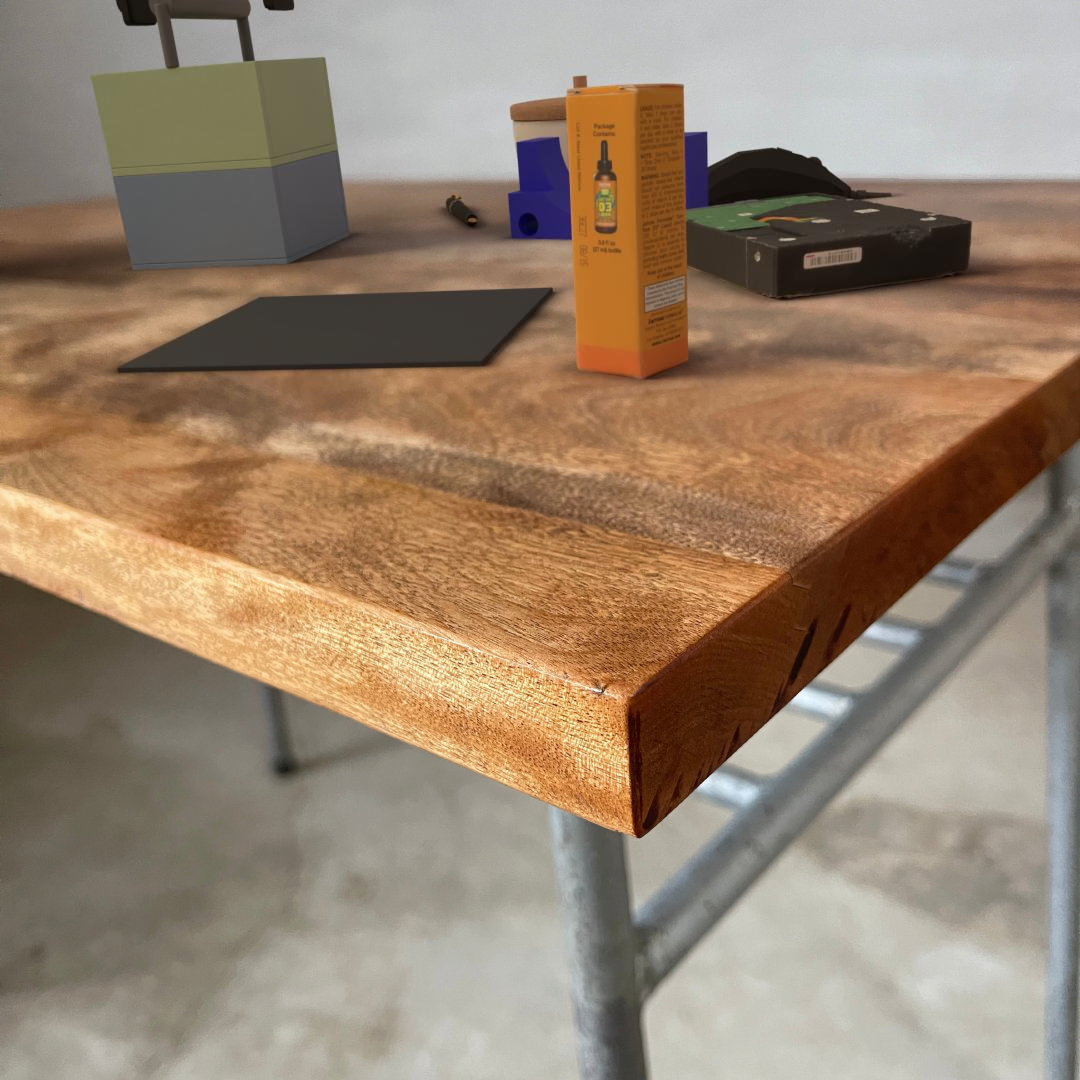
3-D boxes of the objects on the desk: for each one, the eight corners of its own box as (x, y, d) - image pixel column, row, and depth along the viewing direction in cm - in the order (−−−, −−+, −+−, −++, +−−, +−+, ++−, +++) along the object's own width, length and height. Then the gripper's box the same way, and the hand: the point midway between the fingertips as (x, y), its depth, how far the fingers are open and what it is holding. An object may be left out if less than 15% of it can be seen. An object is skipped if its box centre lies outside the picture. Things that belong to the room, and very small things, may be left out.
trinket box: (498, 219, 83) (486, 84, 80) (543, 199, 93) (535, 77, 89) (637, 215, 80) (631, 74, 76) (670, 194, 89) (666, 67, 85)
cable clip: (511, 240, 73) (503, 144, 71) (545, 229, 77) (539, 137, 74) (679, 243, 67) (677, 138, 65) (708, 231, 71) (707, 131, 69)
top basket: (110, 177, 71) (71, -4, 66) (196, 158, 81) (167, 1, 76) (271, 167, 68) (240, -21, 64) (339, 149, 78) (316, -14, 74)
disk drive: (973, 280, 53) (815, 237, 66) (979, 219, 51) (816, 187, 65) (775, 309, 50) (651, 258, 63) (776, 246, 49) (649, 207, 62)
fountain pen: (484, 231, 78) (482, 209, 78) (468, 233, 78) (466, 211, 78) (457, 208, 91) (455, 189, 91) (442, 210, 91) (440, 191, 91)
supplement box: (697, 362, 42) (692, 78, 38) (643, 384, 40) (631, 85, 36) (628, 352, 45) (616, 82, 41) (572, 373, 42) (554, 89, 38)
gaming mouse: (903, 204, 75) (906, 141, 74) (683, 220, 76) (681, 158, 74) (879, 193, 81) (882, 135, 79) (675, 208, 82) (673, 150, 80)
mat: (118, 376, 47) (116, 367, 47) (260, 304, 60) (259, 296, 59) (482, 370, 44) (481, 360, 43) (553, 295, 56) (552, 287, 56)
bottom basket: (132, 272, 73) (112, 176, 71) (211, 244, 83) (195, 159, 80) (288, 266, 71) (272, 167, 68) (350, 237, 80) (338, 150, 78)
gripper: (-24, -303, 63) (55, 31, 69) (258, -357, 59) (313, 2, 66) (55, -271, 69) (121, 31, 76) (314, -318, 65) (358, 5, 72)
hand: (210, 17), depth 71 cm, fingers open, 9 cm apart
